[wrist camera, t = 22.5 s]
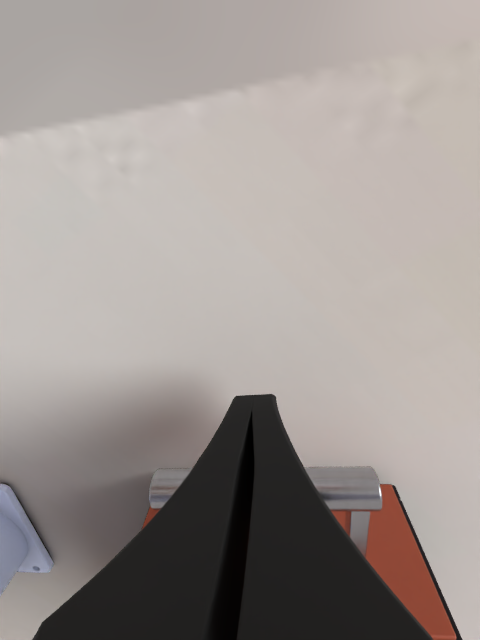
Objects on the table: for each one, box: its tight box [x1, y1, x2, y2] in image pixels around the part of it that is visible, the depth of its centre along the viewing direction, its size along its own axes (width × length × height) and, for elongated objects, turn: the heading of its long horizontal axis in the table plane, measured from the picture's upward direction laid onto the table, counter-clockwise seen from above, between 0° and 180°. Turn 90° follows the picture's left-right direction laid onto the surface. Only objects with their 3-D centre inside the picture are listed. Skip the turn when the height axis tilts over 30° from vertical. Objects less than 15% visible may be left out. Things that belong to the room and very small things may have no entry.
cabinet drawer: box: [142, 467, 456, 640], centre depth 14 cm, size 19×11×5 cm, turn 6°
